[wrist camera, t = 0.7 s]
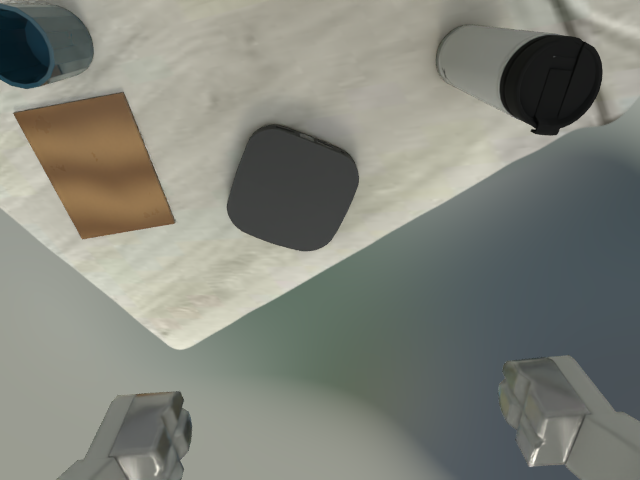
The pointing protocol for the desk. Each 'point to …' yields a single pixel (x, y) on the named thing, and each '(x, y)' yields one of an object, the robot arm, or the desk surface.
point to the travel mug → (523, 73)
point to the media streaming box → (291, 189)
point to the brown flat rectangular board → (97, 165)
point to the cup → (41, 44)
